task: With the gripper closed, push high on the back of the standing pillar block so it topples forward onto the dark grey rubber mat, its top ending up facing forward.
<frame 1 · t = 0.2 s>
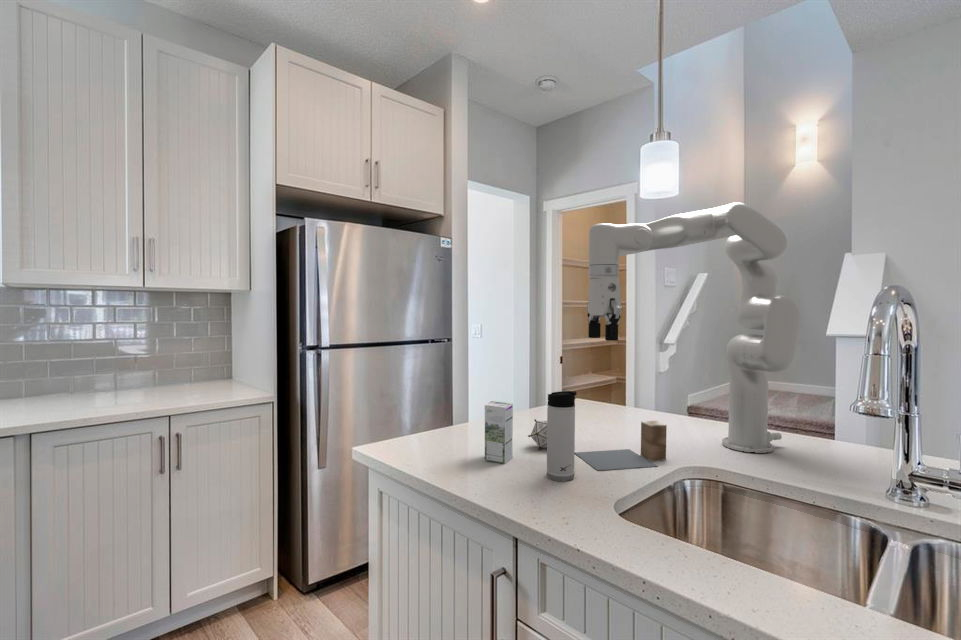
hand: (602, 339, 126), 31 cm above the worktop, tool pointing down, fingers open, 9 cm apart
syrup box: (498, 460, 125), on the worktop
game die: (545, 448, 135), on the worktop
travel mug: (561, 477, 112), on the worktop
pillar block: (653, 457, 127), on the worktop
mat: (614, 459, 125), on the worktop
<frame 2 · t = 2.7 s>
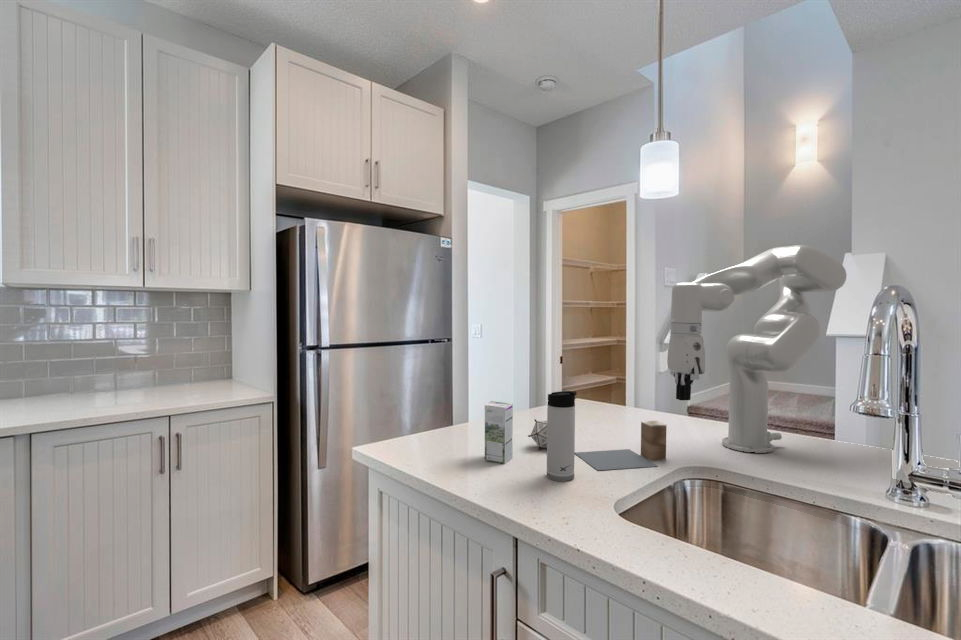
hand: (683, 399, 128), 15 cm above the worktop, tool pointing down, fingers closed
nothing on the worktop moved.
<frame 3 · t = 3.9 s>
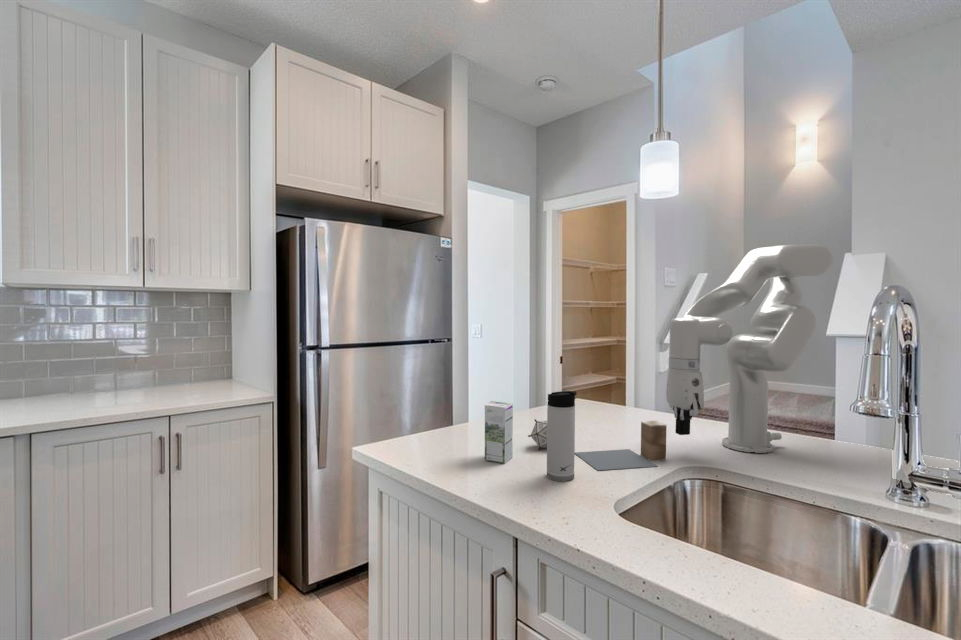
hand: (682, 433, 129), 6 cm above the worktop, tool pointing down, fingers closed
nothing on the worktop moved.
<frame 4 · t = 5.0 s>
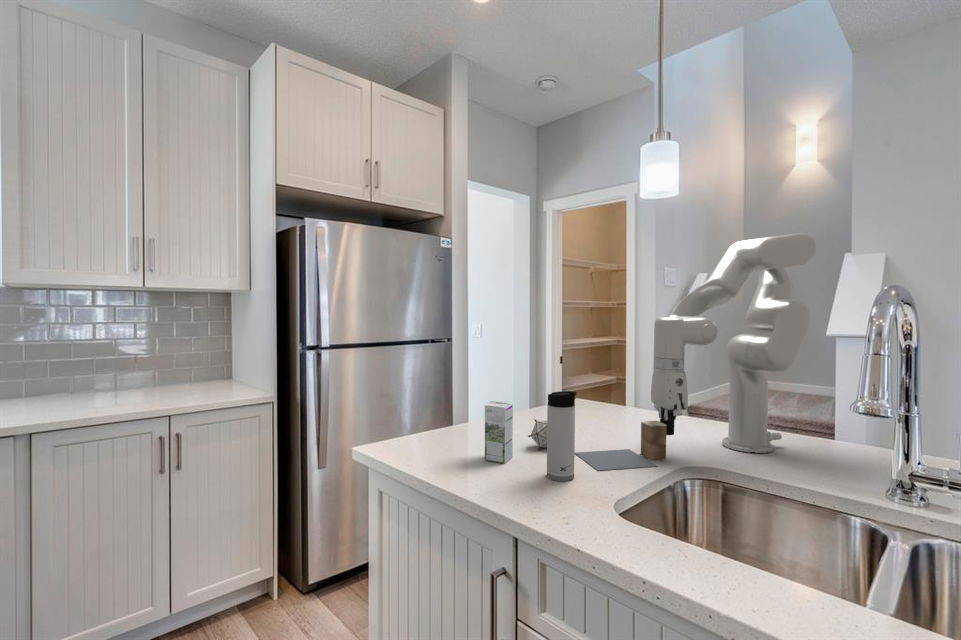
hand: (666, 434, 128), 6 cm above the worktop, tool pointing down, fingers closed
pillar block: (653, 457, 127), on the worktop, touching gripper
everything else where it was.
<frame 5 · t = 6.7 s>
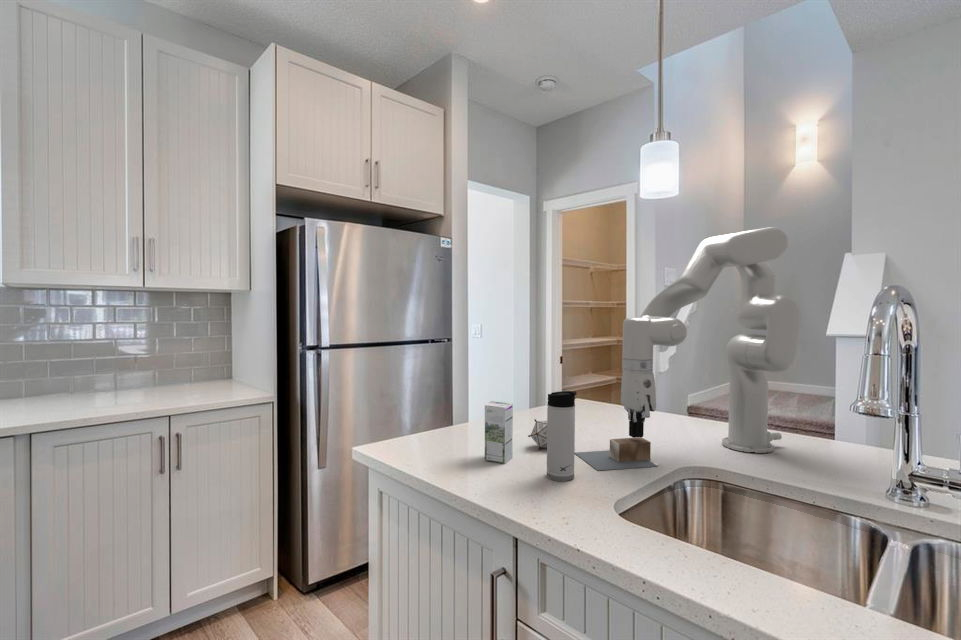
hand: (636, 436, 126), 6 cm above the worktop, tool pointing down, fingers closed
pillar block: (645, 448, 127), point 2 cm above the worktop, tilted 90°, touching mat
everything else where it was.
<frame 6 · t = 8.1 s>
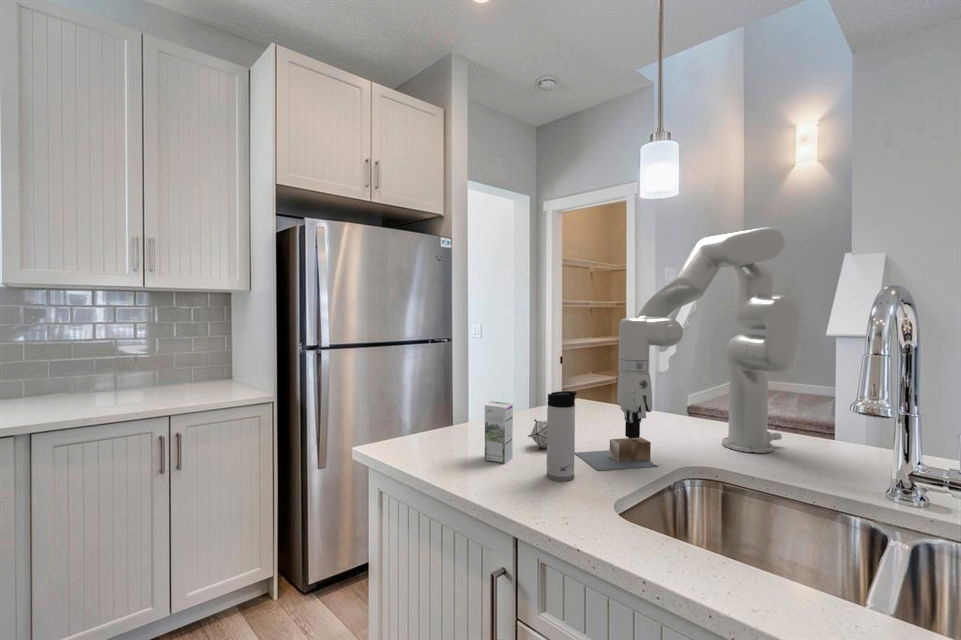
hand: (632, 437, 126), 6 cm above the worktop, tool pointing down, fingers closed
nothing on the worktop moved.
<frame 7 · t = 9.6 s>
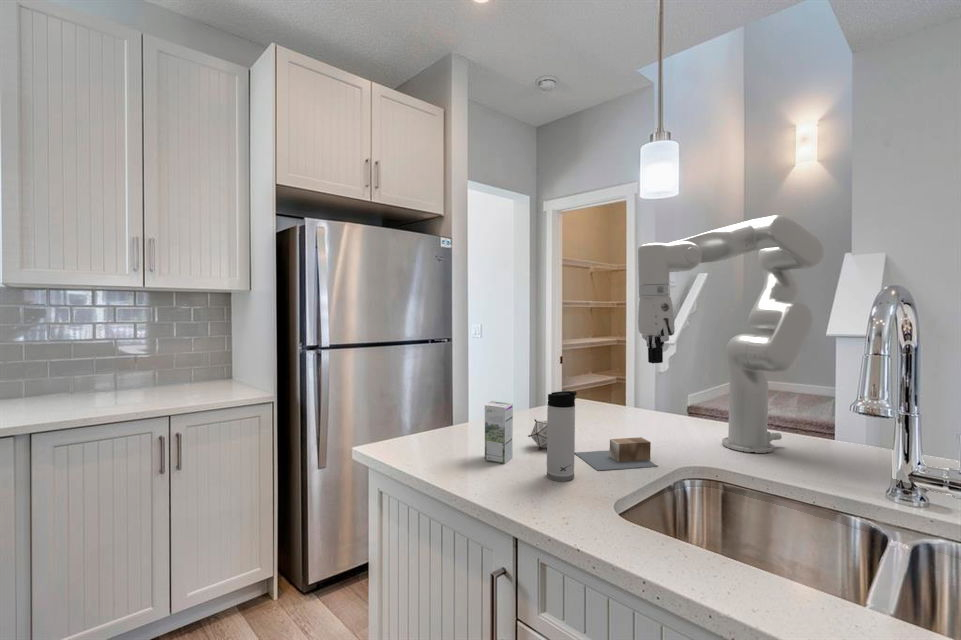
hand: (655, 362, 127), 25 cm above the worktop, tool pointing down, fingers closed
nothing on the worktop moved.
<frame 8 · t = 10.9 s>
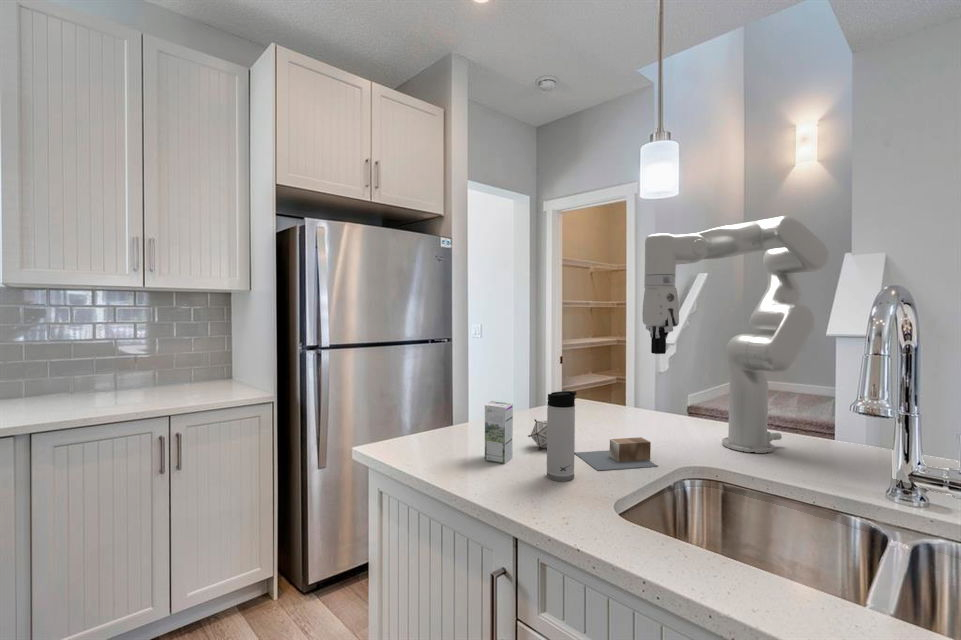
hand: (658, 353, 127), 27 cm above the worktop, tool pointing down, fingers closed
nothing on the worktop moved.
at the end: pillar block tilted 90°; pillar block inside the target area (5.3 cm from its centre), point 2.4 cm above the worktop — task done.
